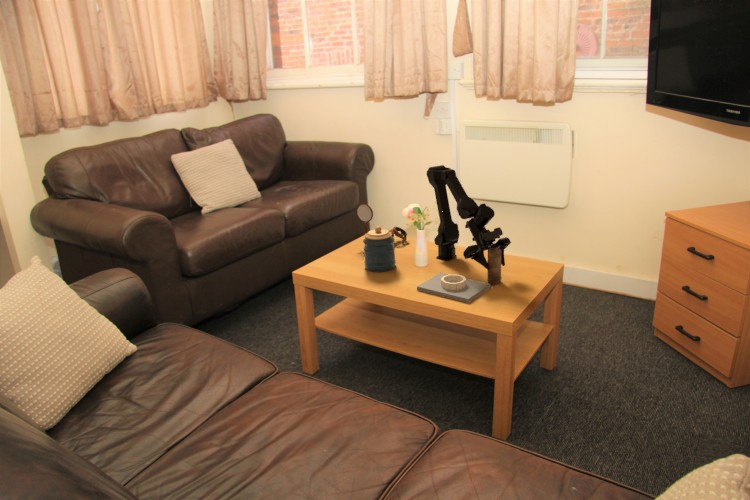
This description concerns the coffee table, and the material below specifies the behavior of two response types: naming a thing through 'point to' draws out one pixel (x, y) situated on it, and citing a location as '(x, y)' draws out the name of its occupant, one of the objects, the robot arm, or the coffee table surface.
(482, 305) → the coffee table surface
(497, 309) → the coffee table surface
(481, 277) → the coffee table surface
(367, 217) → the magnifying glass
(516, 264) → the coffee table surface
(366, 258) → the canister
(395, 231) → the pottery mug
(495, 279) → the walnut column
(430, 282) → the base board
